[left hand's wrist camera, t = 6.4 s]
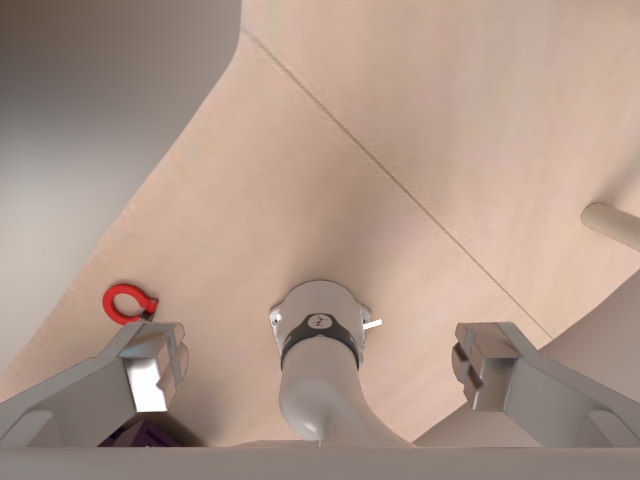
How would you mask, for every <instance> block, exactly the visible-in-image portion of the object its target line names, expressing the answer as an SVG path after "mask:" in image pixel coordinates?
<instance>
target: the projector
mask: <svg viewBox="0 0 640 480" xmlns="http://www.w3.org/2000/svg"><path fill="white" fill-rule="evenodd" d="M97 447H183V446H181V445H180V444H179V443H177V442H176V441H175V440H174V439H172V438H171V437H170V436H168V435H167V434H166V433H165V432H163V431H162V430H161V429H160V428H158V427H157V426H156V425H154V424H153V423H152V422H151V421H149V420H148V419H147V418H144V419H143V420H141V421H140V422H138V423H137V424H135V425H134V426H132V427H131V428H129V429H128V430H126V431H125V430H123V429H122V428H121V427H119V428H118V429H117V430H116V431H114V432H113V433H112V434H111V435H110V436H109V437H107V438H106V439H105V440H104V441H103V442H101V443H100V444H99V445H98V446H97Z"/></svg>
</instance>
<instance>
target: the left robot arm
mask: <svg viewBox="0 0 640 480" xmlns="http://www.w3.org/2000/svg"><path fill="white" fill-rule="evenodd" d="M269 318H270V322H271V325H272V328H273V332H274V335H275V339H276V342H277V345H278V349H279V352H280V355H281V370H282V377H281V385H280V392H279V408H280V411H281V414H282V416H283V418H284V420H285V421H286V423H287V424H288V426H289V427H290V429H291V430H292V431H293V432H294V433H295V434H296V435H298V436H299V437H301V438H302V439H304V440H258V441H253V442H248V443H243V444H239V445H235V446H231V447H97V446H98V445H99V444H100V443H101V442H103V441H104V440H105V439H106V438H107V437H109V436H110V435H111V434H112V433H113V432H114V431H116V430H117V429H118V428H119V427H120V426H122V425H123V424H124V423H125V422H126V421H127V420H129V419H130V418H131V417H132V416H133V415H135V414H136V412H148V411H167V410H168V408H169V406H170V404H171V402H172V400H173V398H174V396H175V394H176V392H177V391H176V386H175V385H176V384H178V383H179V382H180V381H182V380H183V378H184V376H185V373H186V370H187V366H188V349H187V347H186V346H185V345H184V344H183V343H182V342H181V341H182V339H183V338H184V336H185V332H184V327H183V325H182V324H181V323H176V322H129V323H126V324H125V325H124V326H123V327H122V329H121V330H120V331H119V332H118V333H117V334H116V335H115V337H114V338H113V339H112V340H111V341H110V342H109V344H108V345H107V346H106V347H105V348H104V349H103V350H102V352H101V353H100V354H99V355H98V356H97V357H93V358H89V359H87V360H85V361H83V362H81V363H79V364H77V365H75V366H73V367H71V368H69V369H67V370H65V371H63V372H61V373H59V374H57V375H55V376H53V377H51V378H49V379H47V380H45V381H43V382H41V383H39V384H37V385H35V386H34V387H32V388H30V389H28V390H26V391H24V392H22V393H20V394H18V395H16V396H14V397H12V398H10V399H8V400H6V401H4V402H2V403H0V480H640V403H638V402H636V401H634V400H632V399H630V398H628V397H626V396H624V395H622V394H620V393H618V392H616V391H614V390H612V389H610V388H608V387H606V386H604V385H602V384H600V383H598V382H596V381H595V380H593V379H591V378H589V377H587V376H585V375H583V374H581V373H579V372H577V371H575V370H573V369H571V368H569V367H567V366H565V365H563V364H561V363H559V362H557V361H555V360H553V359H551V358H547V357H546V358H545V357H543V356H542V355H541V354H540V353H539V352H538V350H537V349H536V348H535V347H534V346H533V345H532V344H531V342H530V341H529V340H528V339H527V338H526V337H525V336H524V334H523V333H522V332H521V331H520V330H519V329H518V327H517V326H516V325H515V324H514V323H512V322H493V323H458V325H457V327H456V332H455V336H456V338H457V339H458V341H459V342H458V343H457V344H456V345H455V346H454V347H453V350H452V367H453V370H454V374H455V376H456V378H457V380H458V381H460V382H461V383H462V384H464V385H465V386H464V391H463V392H464V394H465V396H466V398H467V400H468V402H469V404H470V406H471V408H472V410H473V411H492V412H504V413H505V414H506V415H507V416H508V417H509V418H510V419H512V420H513V421H514V422H515V423H516V424H517V425H519V426H520V427H521V428H522V429H523V430H524V431H526V432H527V433H528V434H529V435H530V436H532V437H533V438H534V439H535V440H536V441H538V442H539V443H540V444H541V445H542V446H543V447H418V446H416V445H413V444H412V443H410V442H408V441H406V440H405V439H403V438H401V437H400V436H399V435H397V434H396V433H394V432H393V431H392V430H391V429H390V428H388V427H387V426H386V425H385V424H384V423H383V422H382V421H381V420H380V419H379V418H378V417H377V416H376V415H375V414H374V412H373V411H372V410H371V409H370V407H369V406H368V404H367V402H366V401H365V399H364V396H363V393H362V389H361V385H360V381H359V376H358V370H359V367H361V366H362V364H363V354H360V352H361V351H364V348H365V344H364V343H363V342H364V339H365V335H366V332H367V328H369V327H373V326H376V325H379V324H382V323H381V320H378V321H375V322H372V323H369V322H370V318H371V313H370V311H369V309H367V308H366V307H364V306H363V305H361V304H359V303H358V302H357V301H356V300H355V298H354V297H353V295H352V294H351V293H350V292H349V291H348V290H347V289H345V288H344V287H342V286H341V285H339V284H336V283H333V282H330V281H322V280H318V281H310V282H307V283H304V284H301V285H299V286H298V287H296V288H295V289H293V290H292V291H291V292H290V293H289V294H288V295H287V297H286V298H285V300H284V301H283V302H282V303H281V304H279V305H277V306H276V307H274V308H273V309H271V311H270V313H269ZM276 319H277V321H276ZM363 319H364V321H363Z"/></svg>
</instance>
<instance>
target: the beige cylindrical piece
mask: <svg viewBox="0 0 640 480" xmlns="http://www.w3.org/2000/svg"><path fill="white" fill-rule="evenodd" d="M581 221H582V223H583V225H585V226H586V227H588V228H591V229H593V230H595V231H597V232H599V233H601V234H603V235H605V236H607V237H609V238H611V239H613V240H615V241H618V242H620V243H622V244H624V245H626V246H628V247H630V248H632V249H634V250H636V251H638V252H640V217H637V216H634V215H632V214H629V213H626V212H624V211H621V210H618V209H615V208H613V207H610V206H607V205H605V204H602V203H594V204H591V205H589V206H588V207H586V208H585V210H584V211H583V213H582V215H581Z"/></svg>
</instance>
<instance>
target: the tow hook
mask: <svg viewBox="0 0 640 480" xmlns="http://www.w3.org/2000/svg"><path fill="white" fill-rule="evenodd" d="M120 293H125V294H129V295H131V296H133V297H134V298H135V299H136V300H137V301H138V303H139V305H140V307H142V308H144V309H146V310H145V311H144V312H143V313H142V314H141V315H138V316H136V317H131V318H129V317H125V316H122V315H121V314H119V313H118V312H117V311H116V310H115V308H114V306H113V298H114V296H115V295H117V294H120ZM157 302H158V301H157V300H156V299H149V298H147V297H146V296H145V295H144V294H143V293H142V292H141V291H140V290H139V289H137V288H136V287H133V286H130V285H125V284H120V285H115V286H113V287H111V288H110V289H109V290H108V291H106V293H105V294H104V296H103V307H104V310H105V312H106V313H107V315H108V316H109V317H110V318H111V319H112V320H113V321H115V322H117V323H118V324H121V325H125V324H126V323H129V322H151V320H152V318H153V315H154V313H155V308H156V305H157Z"/></svg>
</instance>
